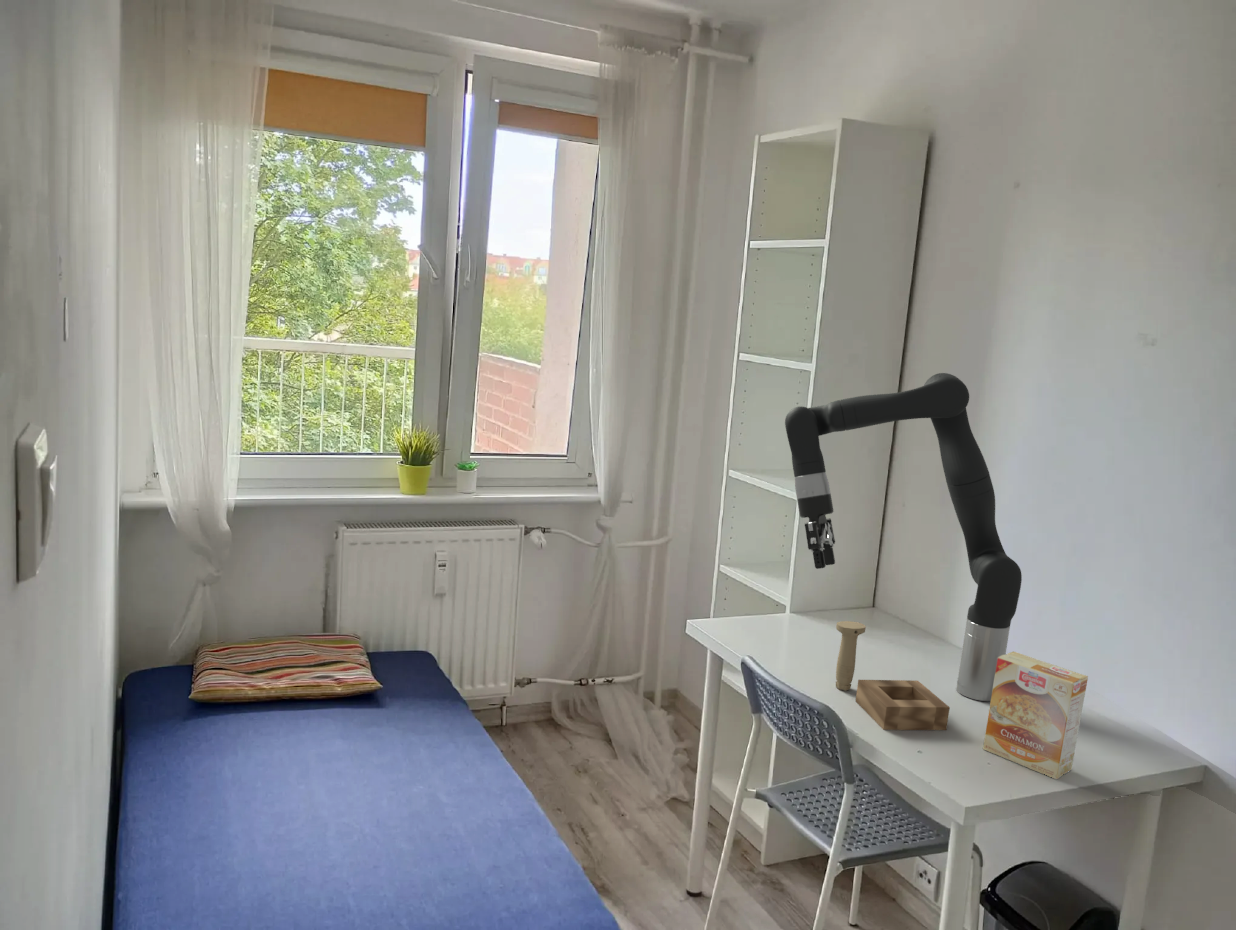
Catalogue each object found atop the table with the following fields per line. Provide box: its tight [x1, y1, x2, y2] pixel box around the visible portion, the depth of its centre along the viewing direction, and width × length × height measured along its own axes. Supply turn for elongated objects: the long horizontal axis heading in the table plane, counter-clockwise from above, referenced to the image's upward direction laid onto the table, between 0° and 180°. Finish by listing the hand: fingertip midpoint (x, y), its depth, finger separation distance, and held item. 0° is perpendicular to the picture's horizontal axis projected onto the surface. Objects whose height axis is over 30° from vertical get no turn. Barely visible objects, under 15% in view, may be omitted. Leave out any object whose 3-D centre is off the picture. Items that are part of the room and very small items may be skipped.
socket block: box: [855, 679, 951, 731], centre depth 205 cm, size 14×14×5 cm
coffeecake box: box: [982, 651, 1089, 780], centre depth 187 cm, size 15×7×20 cm, turn 42°
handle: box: [835, 620, 867, 692], centre depth 216 cm, size 5×6×15 cm
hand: (825, 566), depth 215 cm, fingers open, 8 cm apart
